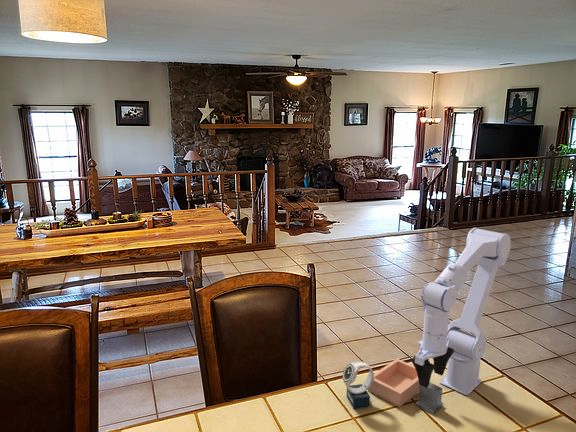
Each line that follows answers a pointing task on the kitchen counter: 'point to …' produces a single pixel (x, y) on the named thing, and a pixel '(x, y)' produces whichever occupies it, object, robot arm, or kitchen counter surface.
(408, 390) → the salmon pink open box
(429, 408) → the grey metal t-piece
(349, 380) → the watch
